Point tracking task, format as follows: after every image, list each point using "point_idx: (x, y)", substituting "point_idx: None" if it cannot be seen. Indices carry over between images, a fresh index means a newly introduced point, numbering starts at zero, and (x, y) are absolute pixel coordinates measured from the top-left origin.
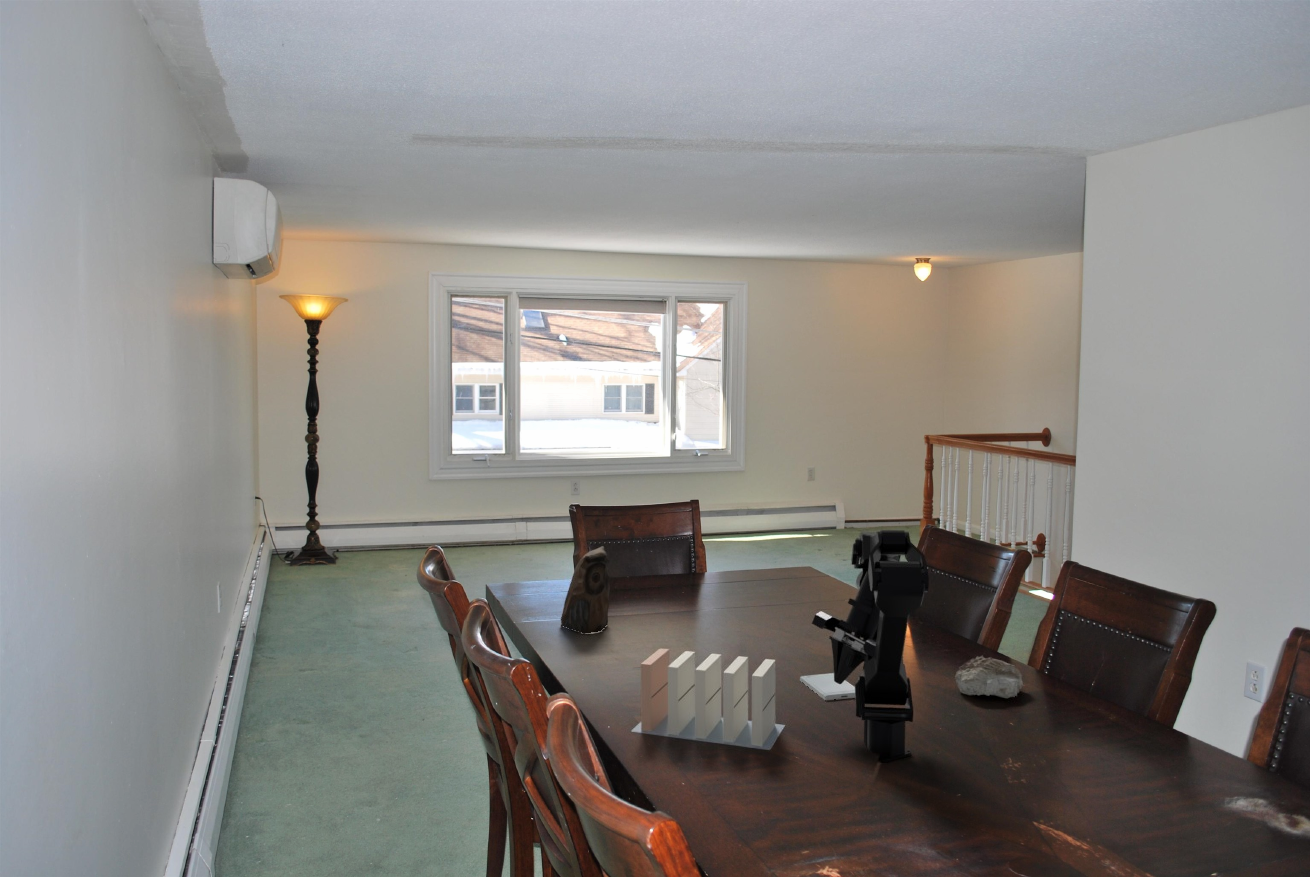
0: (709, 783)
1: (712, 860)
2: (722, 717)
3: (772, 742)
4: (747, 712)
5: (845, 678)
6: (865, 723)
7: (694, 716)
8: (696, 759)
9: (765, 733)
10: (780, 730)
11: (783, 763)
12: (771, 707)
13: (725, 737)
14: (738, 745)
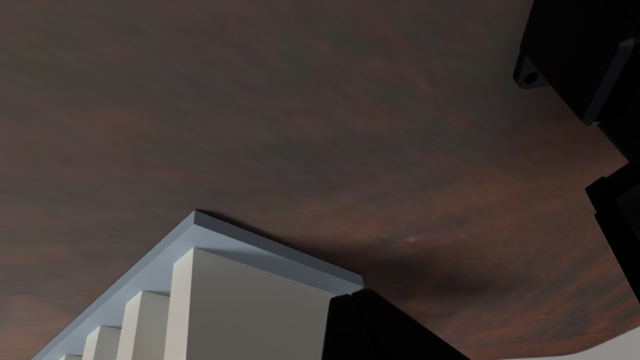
0: None
1: (572, 353)
2: (82, 322)
3: (323, 276)
4: (143, 327)
5: (411, 325)
6: (597, 124)
7: (71, 356)
8: None
9: (309, 306)
10: (241, 244)
11: (422, 266)
12: (247, 348)
13: None
14: None
